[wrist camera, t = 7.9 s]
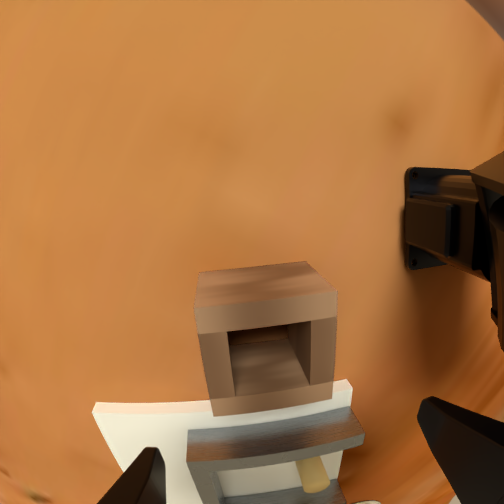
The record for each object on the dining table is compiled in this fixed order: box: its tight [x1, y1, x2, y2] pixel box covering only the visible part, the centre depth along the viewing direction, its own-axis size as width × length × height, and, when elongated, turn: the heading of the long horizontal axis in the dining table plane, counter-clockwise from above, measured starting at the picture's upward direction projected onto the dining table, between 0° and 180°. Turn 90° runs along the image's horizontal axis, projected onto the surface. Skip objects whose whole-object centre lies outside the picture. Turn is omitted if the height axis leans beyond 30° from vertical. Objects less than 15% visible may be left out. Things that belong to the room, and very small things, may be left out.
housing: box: [186, 406, 365, 504], centre depth 18 cm, size 11×11×3 cm
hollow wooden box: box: [194, 261, 338, 417], centre depth 16 cm, size 6×6×5 cm
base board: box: [92, 379, 353, 504], centre depth 19 cm, size 18×16×4 cm
